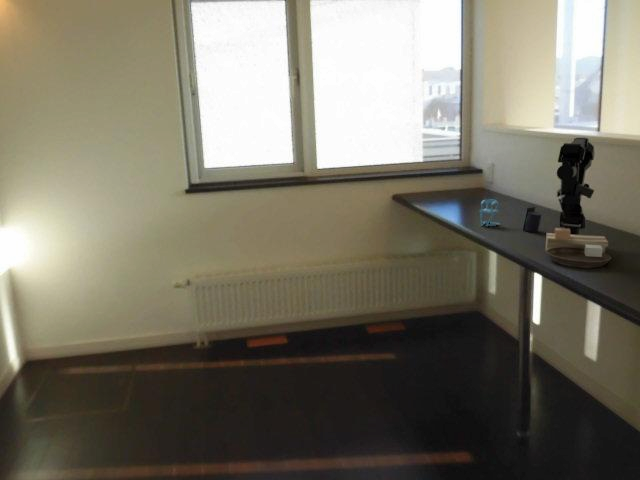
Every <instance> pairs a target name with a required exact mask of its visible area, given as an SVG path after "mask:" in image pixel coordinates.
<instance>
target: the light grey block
mask: <svg viewBox="0 0 640 480" xmlns="http://www.w3.org/2000/svg"><path fill="white" fill-rule="evenodd" d="M602 250H603V248H602V247H601V245H586V244H585V252H584V253H585V255H586V256H592V257H602Z"/></svg>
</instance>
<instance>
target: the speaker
mask: <svg viewBox="0 0 640 480" xmlns="http://www.w3.org/2000/svg"><path fill="white" fill-rule="evenodd" d="M541 219H542V213H541V212H538V211H536V206H532V207H527V208H526V214H525V218H524V223H523V228H522V231H523V232H524V231H526V232H529V233H538V232H539V228H540V223H541Z"/></svg>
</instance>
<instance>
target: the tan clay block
mask: <svg viewBox="0 0 640 480" xmlns="http://www.w3.org/2000/svg"><path fill="white" fill-rule="evenodd" d="M570 232H571V231H570V229H567V228H564V227H554V236H555V239H570Z"/></svg>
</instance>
